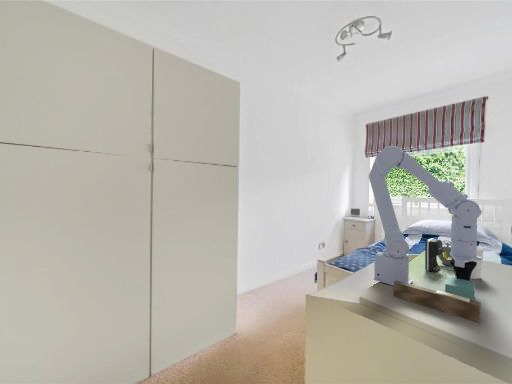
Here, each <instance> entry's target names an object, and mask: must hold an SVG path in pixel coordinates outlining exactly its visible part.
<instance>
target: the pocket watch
mask: <svg viewBox="0 0 512 384" xmlns="http://www.w3.org/2000/svg"><path fill="white" fill-rule="evenodd" d="M443 243H444V244H445V245H446V246H445V245H444V246H443V252H442V254H440V255H438V256H437V257H438V259H439V260H440V261H441V263H442V264H443V265H447V266H450V267H452V265H451V264H450V260H452V259H453V258H452V257H451V256H450V253H451V240H447V242H446V240H444V241H443Z"/></svg>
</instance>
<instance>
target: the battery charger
mask: <svg viewBox="0 0 512 384" xmlns="http://www.w3.org/2000/svg"><path fill="white" fill-rule="evenodd" d="M424 245H425V247H424V250H425V251H424V257H425V259H424V267H425V268H424V269H425V271H427V272H434V273H435V272H438V271H439V270H440V269H441V266H440V265H439V263H438V261H437V260H438V258H437V257H438V255H440V254H442V252H443V247H444V246H443V240H441V239H437V238H429V239H426V240H425V244H424ZM443 253H444V252H443Z"/></svg>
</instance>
